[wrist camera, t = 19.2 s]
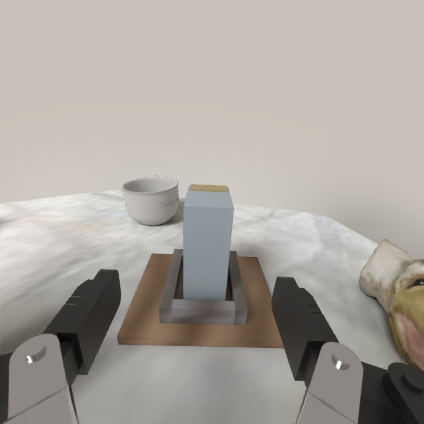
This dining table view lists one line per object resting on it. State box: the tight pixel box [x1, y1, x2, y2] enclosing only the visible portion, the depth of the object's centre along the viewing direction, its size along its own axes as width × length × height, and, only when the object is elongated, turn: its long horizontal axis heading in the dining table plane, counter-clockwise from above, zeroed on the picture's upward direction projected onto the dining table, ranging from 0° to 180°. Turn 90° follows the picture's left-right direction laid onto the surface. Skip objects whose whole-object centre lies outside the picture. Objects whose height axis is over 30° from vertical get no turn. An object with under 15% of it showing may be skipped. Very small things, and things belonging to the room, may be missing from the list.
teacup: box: [122, 175, 179, 225], centre depth 48 cm, size 14×11×8 cm
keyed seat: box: [117, 249, 284, 348], centre depth 28 cm, size 16×14×3 cm
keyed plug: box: [183, 184, 234, 301], centre depth 26 cm, size 4×6×12 cm
